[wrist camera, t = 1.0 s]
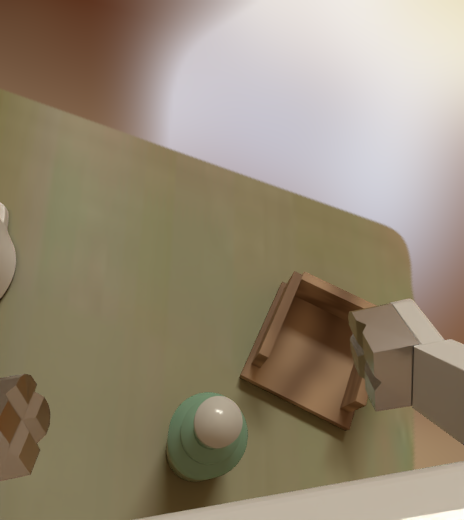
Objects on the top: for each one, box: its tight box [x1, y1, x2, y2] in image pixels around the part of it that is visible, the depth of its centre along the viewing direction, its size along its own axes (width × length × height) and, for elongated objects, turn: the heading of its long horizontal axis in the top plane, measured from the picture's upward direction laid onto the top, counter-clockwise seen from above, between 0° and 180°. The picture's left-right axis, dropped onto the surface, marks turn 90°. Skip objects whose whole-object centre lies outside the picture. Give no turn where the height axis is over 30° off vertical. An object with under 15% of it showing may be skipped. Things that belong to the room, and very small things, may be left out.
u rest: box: [240, 271, 376, 430], centre depth 44 cm, size 12×12×5 cm
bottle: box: [166, 392, 248, 482], centre depth 32 cm, size 6×6×18 cm
